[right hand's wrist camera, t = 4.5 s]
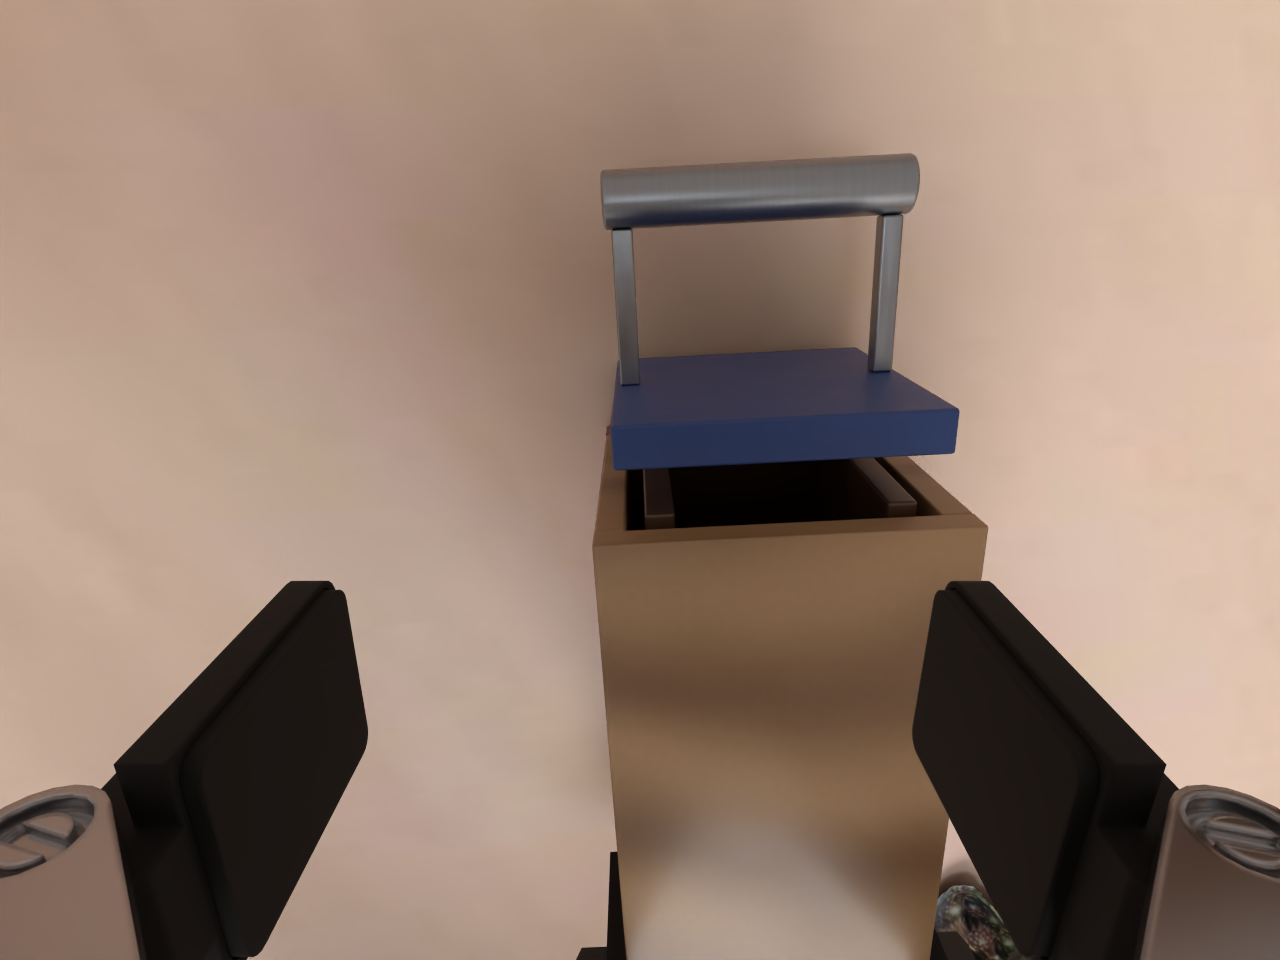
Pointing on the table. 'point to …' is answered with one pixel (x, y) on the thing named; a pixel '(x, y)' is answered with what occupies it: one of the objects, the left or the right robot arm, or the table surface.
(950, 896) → the coral
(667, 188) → the drawer
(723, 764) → the cabinet
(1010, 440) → the table surface
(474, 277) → the table surface
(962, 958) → the left robot arm
